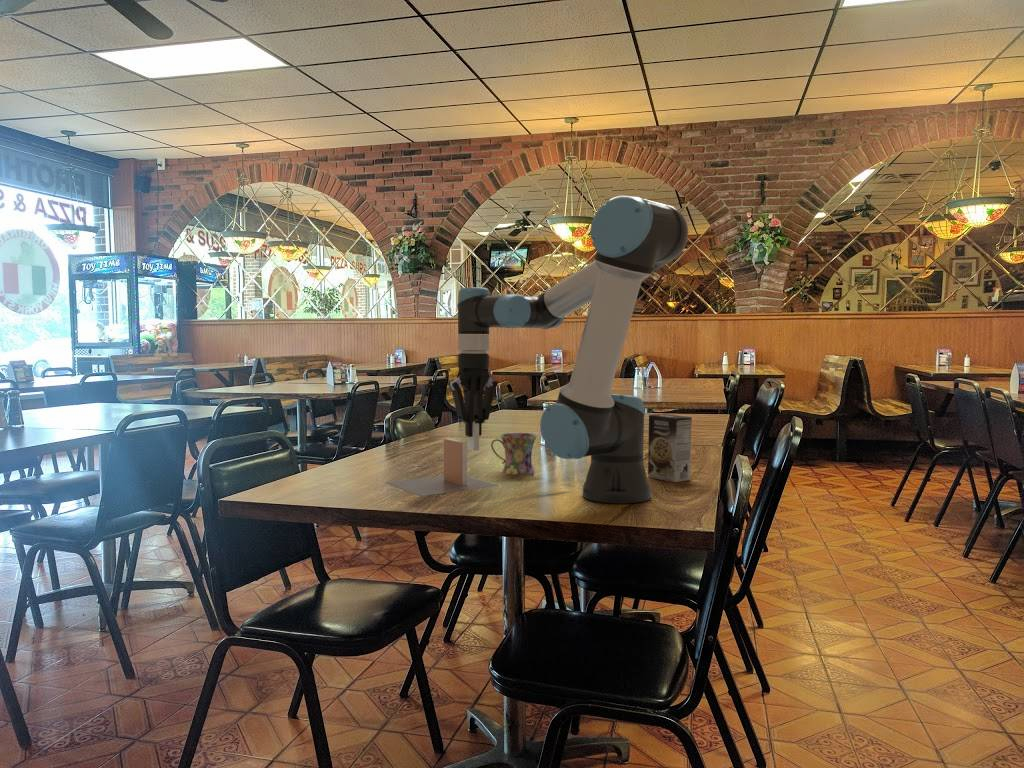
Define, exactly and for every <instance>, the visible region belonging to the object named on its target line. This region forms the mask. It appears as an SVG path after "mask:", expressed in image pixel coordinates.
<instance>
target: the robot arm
mask: <svg viewBox="0 0 1024 768" xmlns="http://www.w3.org/2000/svg"><path fill="white" fill-rule="evenodd" d="M589 235H590V239H591V240H592V246H593V247H594V249H595V250H596V251H595V256H594V260H593V261H592V262H590V263H589V264H588V265H586V266H584V267H582V268H580V269H579V270H578V271H576V272H573V274H570V275H569V276H567V277H565V279H562V281H559V282H558V283H556V284H555V285H553V286H552V287H550V288H548V289H547V290H546V291H544V292H542V293H540V294H538V295H536V296H528V295H521V294H516V293H506V294H497V295H496V294H495V295H490V289H488V288H487V287H480V286H479V287H475V286H474V287H461V288H460V289H459V290H458V295H457V296H458V297H457V305H456V306H457V336H458V337H457V339H458V340H457V347H458V348H457V350H458V351H459V352H460V353H458V355H457V369H458V373H457V375H456V379H454V380H453V381H449V382H448V387H449V388H450V390H451V392H452V397H453V402H454V406H455V411H456V412H455V413H456V416H457V419H458V421H461V422H463V423H464V425H465V429H464V430H465V437H467V451H472V452H475V451H480V437H481V436H482V425H483V424H484V423H485V421H487V420H489V418H490V415H491V414H490V413H491V410H492V409H491V408H492V404H493V400H494V394H495V390H496V388H497V387H498V385H499V384H498V383H499V382H498V380H493V378H491V377H490V376H491V374H490V372H489V368H490V354H489V353H488V352H489V351H490V328H501V329H502V328H504V329H505V328H506V329H515V328H516V329H521V328H522V329H524V328H527V329H543V330H547V329H554V328H557V327H559V326H561V325H562V323H563V321H564V320H565V318H566V316H568V315H570V314H572V313H573V312H575V311H576V310H578V309H580V308H582V307H584V306H585V305H587V304H589V309H588V312H587V316H586V319H585V323H584V327H583V331H582V335H581V338H580V342H579V345H578V350H577V354H576V357H575V361H574V364H573V368H572V372H571V376H570V380H569V382H568V383H567V384H564V385H562V386H561V387H560V389H559V392H558V396H557V400H556V403H552V404H550V405H549V406H548V407H546V408H545V409H544V411H543V413H542V415H541V418H540V425H539V426H540V433H541V438H542V439H543V440H544V444H545V446H546V448H547V449H548V450H549V451H550V452H551V454H553V455H555V456H556V457H558V458H560V459H563V460H564V459H565V460H570V459H571V460H572V459H573V460H579V459H582V458H585V457H590V462H589V463H590V464H589V467H588V469H587V470H588V471H587V474H586V476H585V477H586V478H585V482H584V483H582V484H583V485H582V497H583V498H585V499H587V500H590V501H593V502H599V503H604V504H605V503H606V504H607V503H608V504H635V503H638V504H639V503H642V502H647V501H649V500H650V499H651V495H652V492H651V491H652V490H651V489H652V488H651V485H650V484H649V482H648V475H647V472H646V469H645V466H644V439H645V438H644V433H645V432H644V428H645V427H644V426H645V425H644V424H645V415H646V414H645V409H644V408H645V407H644V402H643V399H642V398H640V397H639V396H633V395H628V394H627V395H626V394H618V393H616V394H615V393H611V390H612V387H613V383H614V379H615V377H616V376H615V375H616V372H617V370H618V366H619V362H620V358H621V356H622V352H623V348H624V344H625V342H626V337H627V336H628V335H627V334H628V331H629V328H630V323H631V320H632V316H633V313H634V311H635V306H636V302H637V299H638V296H639V292H640V289H641V285H642V282H643V281H644V280H646V279H647V278H649V277H650V276H652V275H653V272H655V271H657V270H659V269H661V268H662V267H664V266H666V265H668V264H669V263H671V262H672V261H674V260H675V259H676V258H678V257H679V256H680V255H681V253H682V252H683V251H684V249H685V247H686V245H687V242H688V238H689V228H688V223H687V221H686V218H685V217H684V215H683V214H682V213H681V212H680V210H679V209H677V208H676V207H674V206H672V205H669V204H667V203H662V202H657V201H652V200H649V199H645V198H642V197H639V196H633V195H632V196H630V195H618V196H615V197H612V198H610V199H609V200H607V201H606V202H605V203H603V204H602V205H601V206H600V207H599V208H598V210H596V212H595V214H594V215H593V218H592V221H591V225H590V234H589ZM461 387H462V389H461Z"/></svg>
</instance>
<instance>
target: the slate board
mask: <svg viewBox="0 0 1024 768" xmlns="http://www.w3.org/2000/svg"><path fill="white" fill-rule="evenodd" d="M386 484H387V485H389V486H393V487H395V488H399V489H401V490H404V491H406V492H409V493H412V494H415V495H418V496H419V497H425V496H426V497H427V496H433V495H434V496H435V495H440V494H447V493H455V492H456V493H457V492H462V491H467V490H475V489H482V488H483V489H484V488H489V487H496V486H497V487H498V485H497V484H493V483H491V482H488V481H483V480H479V479H477V478H475V477H474V478H473V477H470V476H467V485H459V484H456V483H452V482H449V481H446V480H444V474H442V475H438V476H437V475H435V476H427V477H420V478H412V479H405V480H404V479H403V480H397V481H396V480H395V481H389V482H388V481H387V482H386Z"/></svg>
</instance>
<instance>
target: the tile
mask: <svg viewBox="0 0 1024 768" xmlns="http://www.w3.org/2000/svg"><path fill="white" fill-rule="evenodd" d="M443 475H444V480H446V481H449V482H452V483H456V484H459V485H467V477H468V441H463V440H459V439H455V438H450V437H448V438H443Z"/></svg>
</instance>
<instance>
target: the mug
mask: <svg viewBox="0 0 1024 768" xmlns="http://www.w3.org/2000/svg"><path fill="white" fill-rule="evenodd" d="M500 438H501V439H499V438H497V439H496V438H495V439H494V440H492V441H491V443H490V447H491V450H492V452H493V453H494V455H495V456H496V457H498V458H499V459H500V460H502V465H504V466H503V469H502V473H504V474H509V475H527V476H533V475H534V474H536V472H535V470H534V467H533V462H532V460H533V459H532V452H533V448H534V444H535V441H536V439H537V435H536V434H535V433H530V432H508V433H507V432H506V433H502V434H500ZM494 442H500V444H502V446H503V448H504V453H505V454H504V455H505V457H502V456H501V455H499V454H498V452H497V451H496V450H495V449H494Z"/></svg>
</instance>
